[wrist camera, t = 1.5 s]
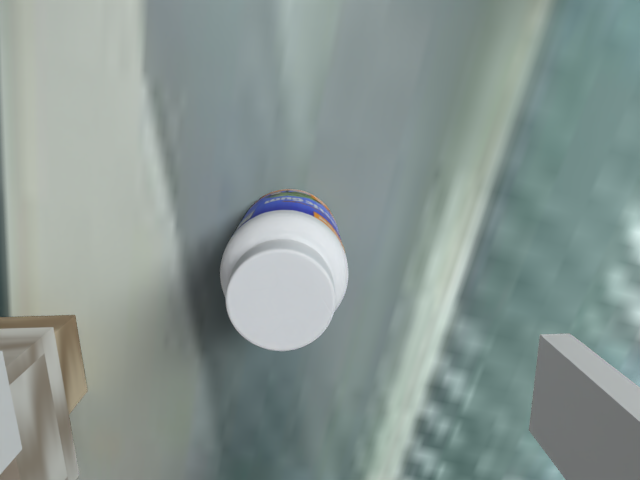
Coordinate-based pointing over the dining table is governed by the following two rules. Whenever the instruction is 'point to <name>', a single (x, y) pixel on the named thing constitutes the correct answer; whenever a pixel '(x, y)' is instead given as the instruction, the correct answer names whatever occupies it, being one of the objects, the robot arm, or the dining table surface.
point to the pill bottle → (284, 271)
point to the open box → (43, 393)
